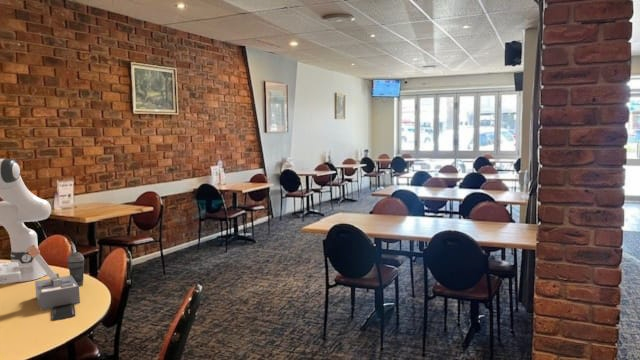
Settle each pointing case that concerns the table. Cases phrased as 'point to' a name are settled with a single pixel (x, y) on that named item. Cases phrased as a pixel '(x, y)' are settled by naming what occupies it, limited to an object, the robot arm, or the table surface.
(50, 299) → the switch box
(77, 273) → the beverage cup
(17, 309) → the table surface
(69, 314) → the phone
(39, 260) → the lever
